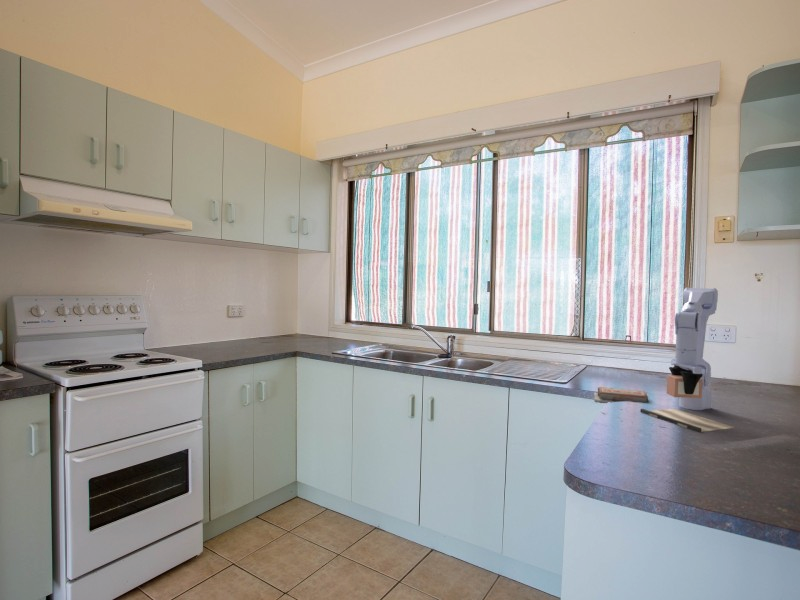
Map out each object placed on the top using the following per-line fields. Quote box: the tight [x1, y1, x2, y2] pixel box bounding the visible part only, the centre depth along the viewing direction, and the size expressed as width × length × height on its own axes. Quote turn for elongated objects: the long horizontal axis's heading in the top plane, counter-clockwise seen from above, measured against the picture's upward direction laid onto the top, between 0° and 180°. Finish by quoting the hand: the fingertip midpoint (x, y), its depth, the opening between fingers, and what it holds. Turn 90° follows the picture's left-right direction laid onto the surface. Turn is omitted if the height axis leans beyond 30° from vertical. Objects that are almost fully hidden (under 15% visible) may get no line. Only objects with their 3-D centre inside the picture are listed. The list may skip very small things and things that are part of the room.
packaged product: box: [593, 386, 649, 404], centre depth 163 cm, size 18×5×10 cm
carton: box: [666, 374, 702, 398], centre depth 139 cm, size 5×8×6 cm, turn 83°
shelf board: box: [640, 408, 736, 433], centre depth 137 cm, size 15×20×2 cm
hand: (684, 391), depth 140 cm, fingers closed on carton, 5 cm apart
